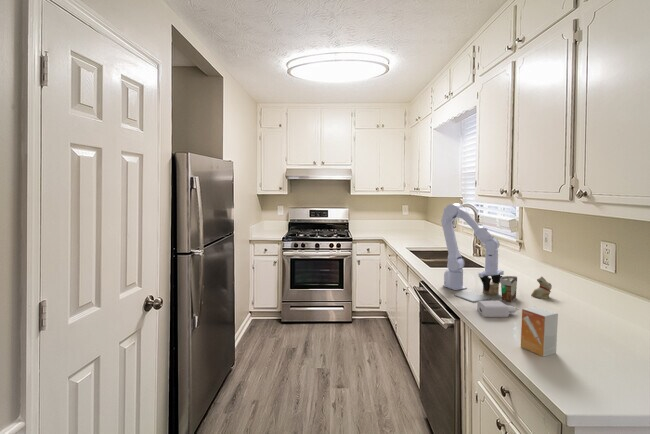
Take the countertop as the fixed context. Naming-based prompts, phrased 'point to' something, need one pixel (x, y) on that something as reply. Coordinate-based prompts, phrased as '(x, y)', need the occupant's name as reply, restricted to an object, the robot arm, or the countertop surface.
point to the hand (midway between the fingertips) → (490, 290)
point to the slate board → (472, 297)
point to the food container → (508, 288)
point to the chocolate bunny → (542, 289)
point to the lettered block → (492, 289)
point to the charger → (494, 309)
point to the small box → (539, 331)
